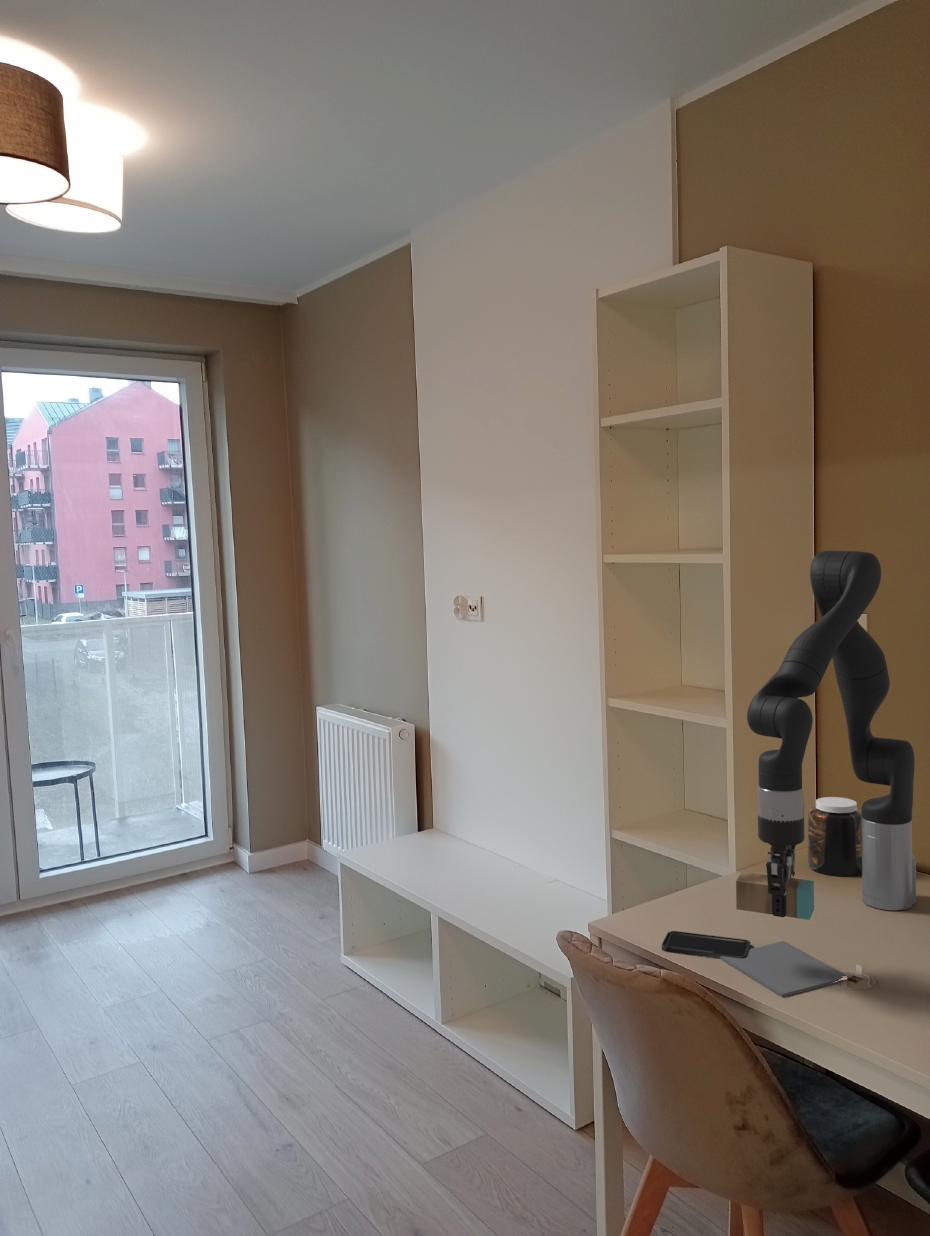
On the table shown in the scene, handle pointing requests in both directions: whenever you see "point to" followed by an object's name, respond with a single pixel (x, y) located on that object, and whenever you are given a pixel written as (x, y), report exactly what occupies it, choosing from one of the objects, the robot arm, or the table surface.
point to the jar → (835, 837)
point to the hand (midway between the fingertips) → (782, 909)
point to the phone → (705, 945)
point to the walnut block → (757, 899)
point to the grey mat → (784, 969)
